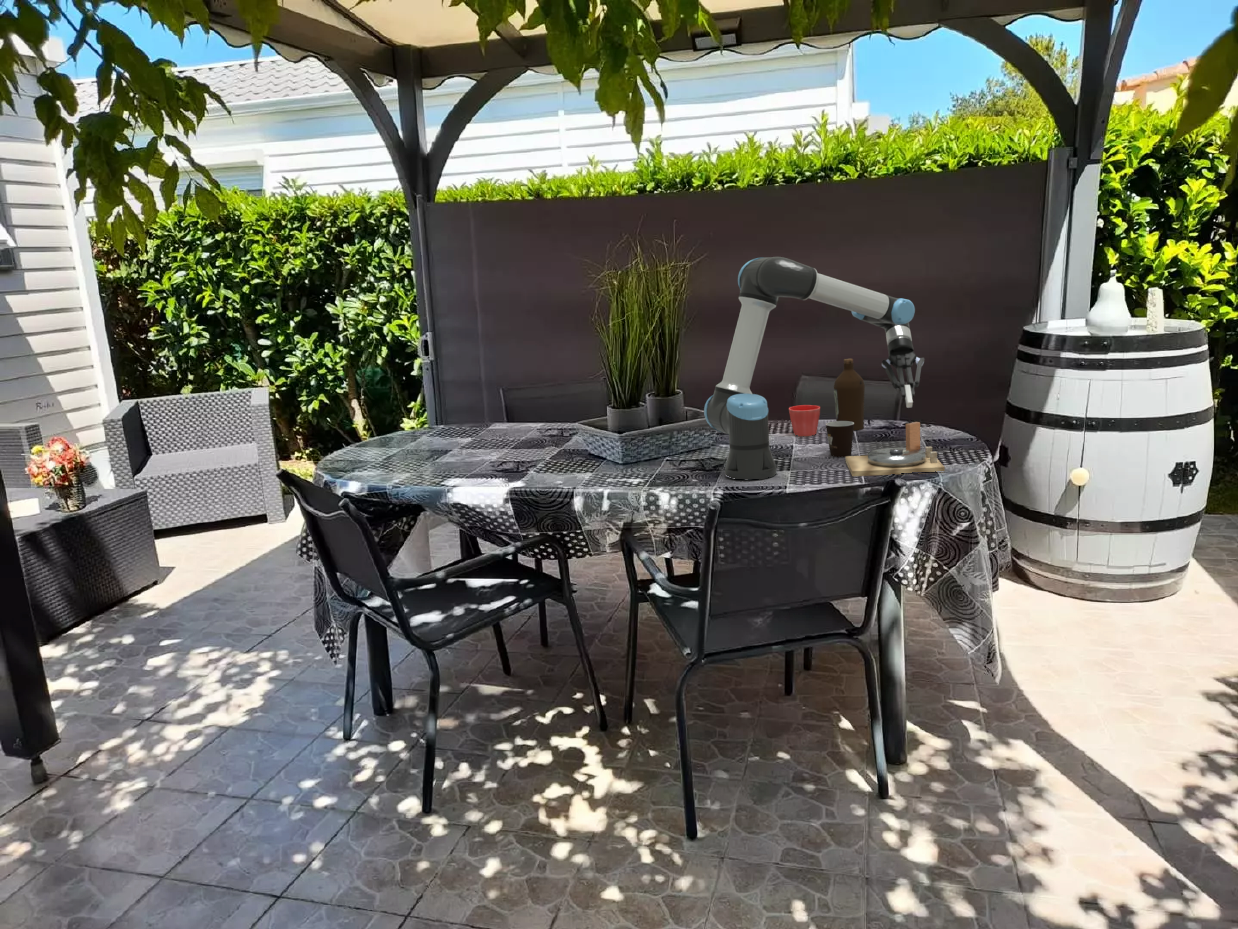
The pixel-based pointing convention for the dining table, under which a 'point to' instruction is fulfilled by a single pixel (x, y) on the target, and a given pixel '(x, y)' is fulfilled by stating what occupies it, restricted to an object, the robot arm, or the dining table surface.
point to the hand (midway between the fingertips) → (909, 404)
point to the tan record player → (864, 468)
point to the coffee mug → (840, 438)
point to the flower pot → (804, 419)
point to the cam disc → (901, 451)
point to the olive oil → (849, 396)
